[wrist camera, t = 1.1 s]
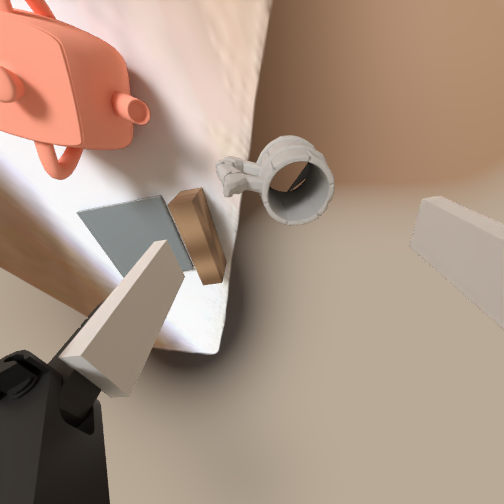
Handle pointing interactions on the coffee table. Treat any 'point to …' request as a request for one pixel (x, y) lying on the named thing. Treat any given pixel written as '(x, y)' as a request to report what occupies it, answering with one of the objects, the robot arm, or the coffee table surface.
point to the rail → (199, 234)
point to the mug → (262, 172)
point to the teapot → (63, 88)
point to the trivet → (134, 231)
